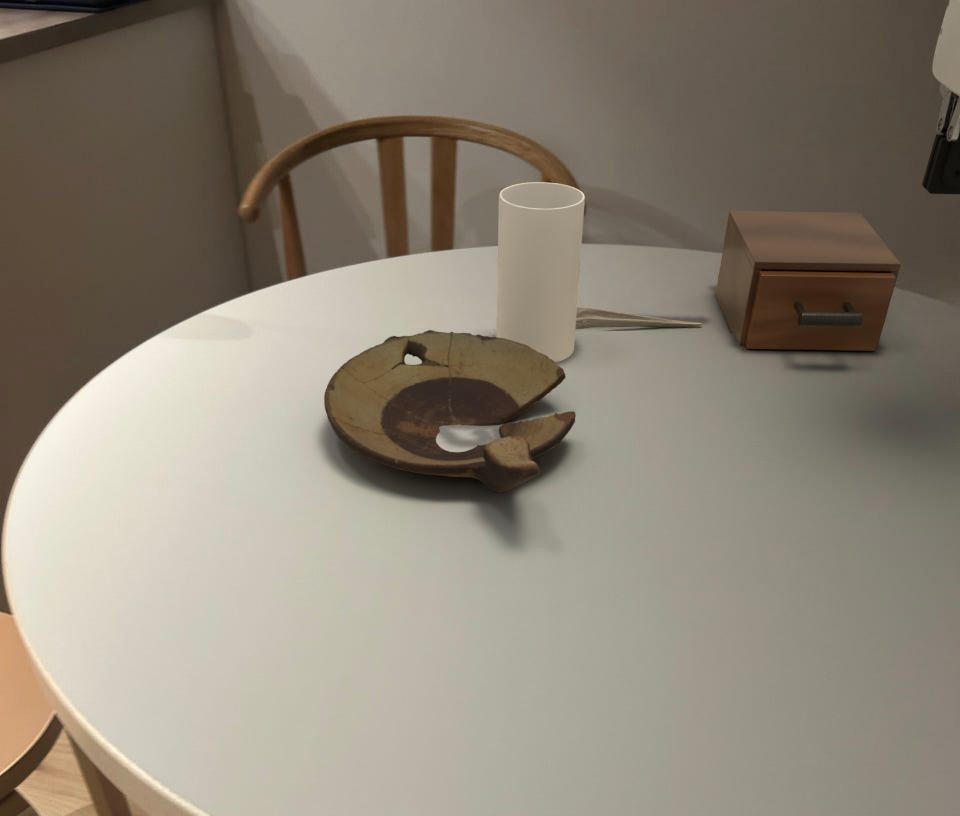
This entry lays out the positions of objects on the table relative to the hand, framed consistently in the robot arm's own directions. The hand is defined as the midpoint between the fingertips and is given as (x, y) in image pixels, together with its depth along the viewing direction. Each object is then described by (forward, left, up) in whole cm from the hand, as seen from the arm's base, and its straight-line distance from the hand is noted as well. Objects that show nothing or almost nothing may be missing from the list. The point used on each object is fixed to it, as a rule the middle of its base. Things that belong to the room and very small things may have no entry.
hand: (943, 190), depth 80 cm
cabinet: (+3, -23, -21) cm, 31 cm away
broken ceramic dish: (+40, +7, -21) cm, 46 cm away
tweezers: (+22, -21, -21) cm, 37 cm away
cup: (+32, -14, -21) cm, 41 cm away
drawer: (+3, -19, -20) cm, 28 cm away
